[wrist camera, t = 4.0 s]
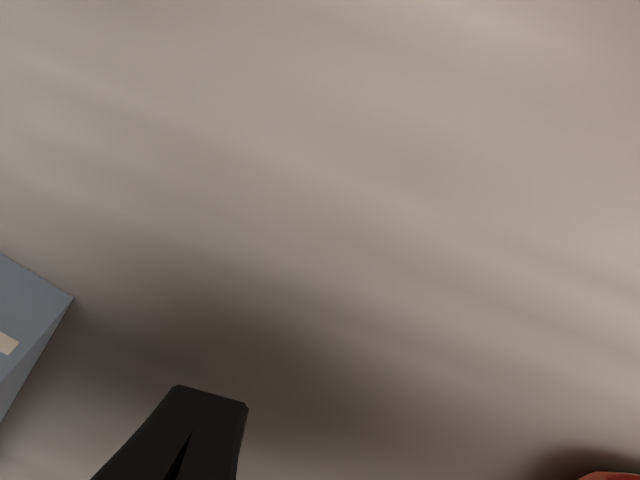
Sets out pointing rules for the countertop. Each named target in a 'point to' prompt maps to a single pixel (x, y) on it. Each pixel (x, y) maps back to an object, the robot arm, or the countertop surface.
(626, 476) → the snack package
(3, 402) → the striped grey-blue box
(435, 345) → the countertop surface
